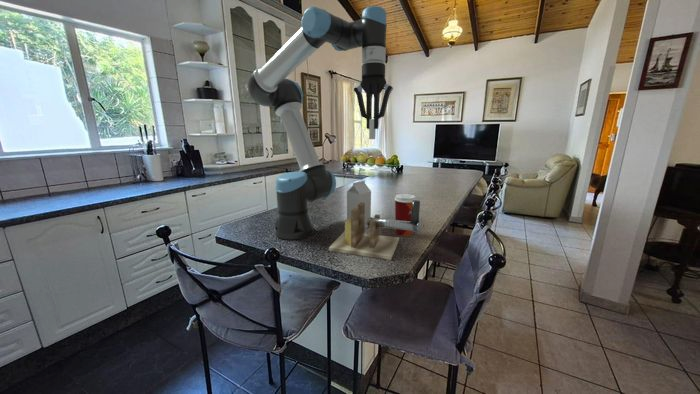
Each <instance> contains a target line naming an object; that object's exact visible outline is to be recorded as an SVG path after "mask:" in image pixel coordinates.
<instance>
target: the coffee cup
mask: <svg viewBox="0 0 700 394" xmlns="http://www.w3.org/2000/svg"><path fill="white" fill-rule="evenodd" d="M393 200H394V206H395V207H394V208H395V209H394V213H395V214H394V215H395V217H394V218H395V219H394V220H401V221H411V215H412V201H413V200H417V199H416V196H415V195H414V194H410V193H409V194H408V193H399V194H395V197H394V199H393ZM412 232H413V231H409V230H400V229H395V235H398V236H401V237H409V236H411V235H412Z"/></svg>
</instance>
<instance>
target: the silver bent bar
mask: <svg viewBox="0 0 700 394" xmlns="http://www.w3.org/2000/svg"><path fill="white" fill-rule="evenodd" d="M420 206H421V201H420V200H418V199H416V200H413V201H412V215H411V221H401V220H395V219H391V218H381V217H380V218H374V217H368V220H367V225H368V227H370V221H371V220H376V227H380V228H385V229H392V230H396V229H400V230H409V231H412V232H416V234H418V235H420V234H421V226H422V223H421V221H422V220H421V219H420V208H421V207H420Z"/></svg>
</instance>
